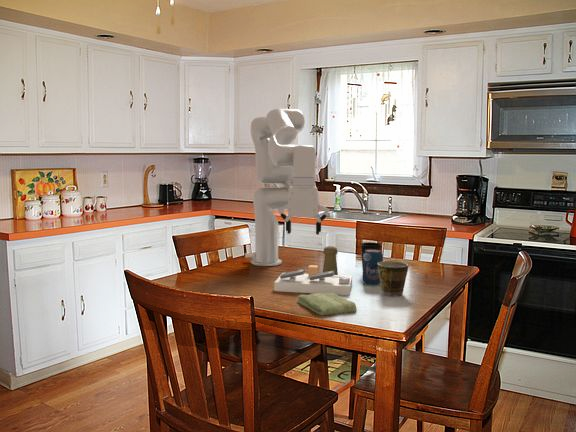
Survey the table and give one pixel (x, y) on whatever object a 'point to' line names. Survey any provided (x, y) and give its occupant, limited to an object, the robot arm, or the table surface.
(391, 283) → the ceramic cup
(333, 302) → the washcloth
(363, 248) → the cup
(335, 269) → the brown upright piece
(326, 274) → the rocker right
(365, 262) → the soda can
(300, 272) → the rocker left
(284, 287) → the panel
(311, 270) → the fader knob
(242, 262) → the table surface
